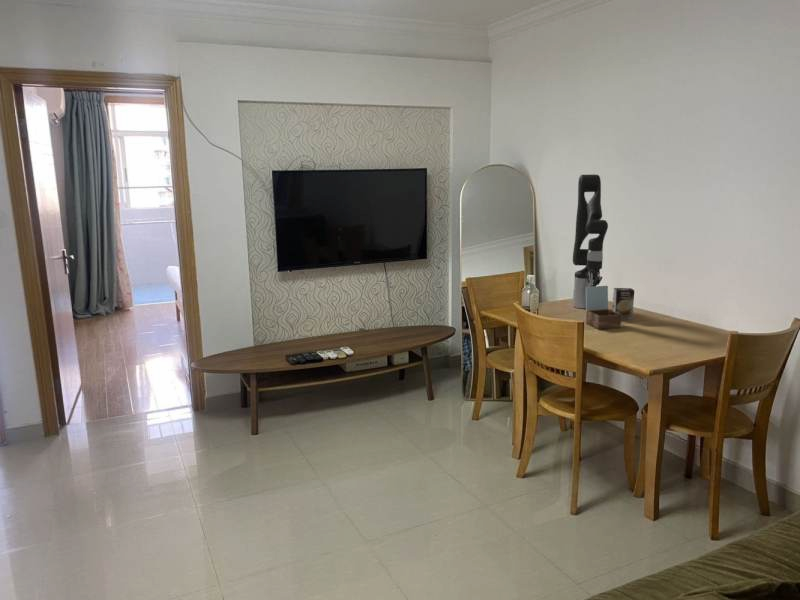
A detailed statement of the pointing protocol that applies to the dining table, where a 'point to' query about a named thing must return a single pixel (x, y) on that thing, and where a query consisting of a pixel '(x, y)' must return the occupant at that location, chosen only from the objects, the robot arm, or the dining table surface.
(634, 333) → the dining table surface
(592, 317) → the box
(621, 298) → the coffee box
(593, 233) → the robot arm
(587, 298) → the lid
